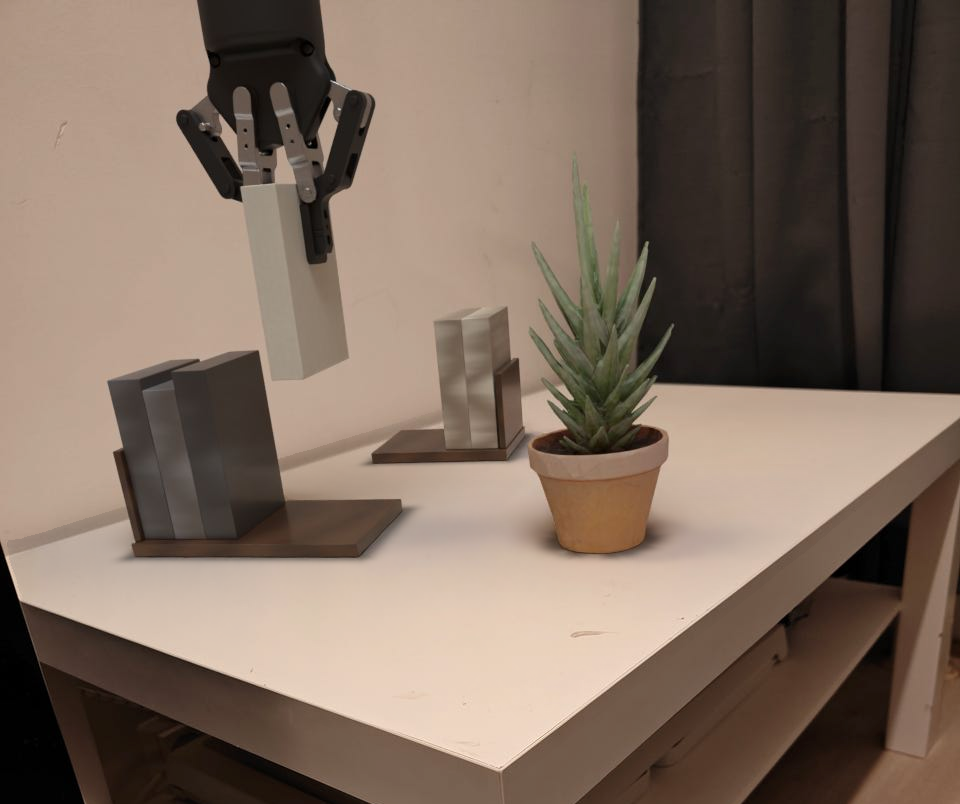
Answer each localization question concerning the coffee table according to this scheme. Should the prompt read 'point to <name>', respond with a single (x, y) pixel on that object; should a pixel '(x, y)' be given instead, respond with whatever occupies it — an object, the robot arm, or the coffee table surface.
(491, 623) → the coffee table surface
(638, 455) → the potted plant
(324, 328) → the ivory book
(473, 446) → the ivory shelf
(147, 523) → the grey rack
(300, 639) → the coffee table surface
